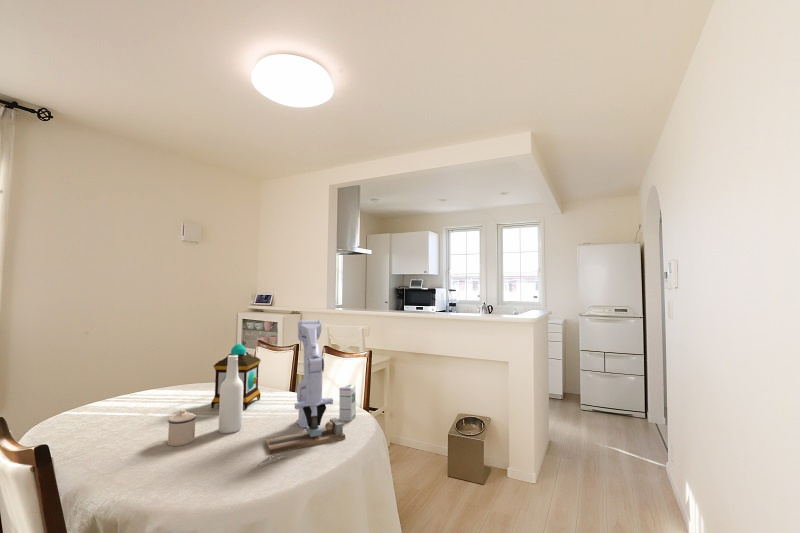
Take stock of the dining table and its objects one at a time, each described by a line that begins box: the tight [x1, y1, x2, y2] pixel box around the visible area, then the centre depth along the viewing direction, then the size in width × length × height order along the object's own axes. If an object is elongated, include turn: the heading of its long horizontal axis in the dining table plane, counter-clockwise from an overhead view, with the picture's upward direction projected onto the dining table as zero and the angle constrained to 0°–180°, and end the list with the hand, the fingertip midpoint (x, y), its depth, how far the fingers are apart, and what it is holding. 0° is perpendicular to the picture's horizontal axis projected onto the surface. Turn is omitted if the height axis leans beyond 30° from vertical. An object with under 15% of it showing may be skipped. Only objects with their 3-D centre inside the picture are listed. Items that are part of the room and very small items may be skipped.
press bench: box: [264, 417, 346, 455], centre depth 143 cm, size 10×28×6 cm, turn 119°
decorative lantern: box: [210, 343, 261, 411], centre depth 189 cm, size 20×20×30 cm
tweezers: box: [251, 452, 287, 471], centre depth 123 cm, size 18×5×2 cm, turn 148°
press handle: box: [305, 416, 322, 437], centre depth 145 cm, size 7×4×6 cm, turn 29°
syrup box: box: [338, 384, 357, 422], centre depth 168 cm, size 6×6×14 cm
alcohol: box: [218, 355, 244, 435], centre depth 155 cm, size 9×9×30 cm
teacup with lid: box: [167, 409, 197, 447], centre depth 143 cm, size 12×9×12 cm
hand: (313, 425), depth 145 cm, fingers closed on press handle, 3 cm apart
